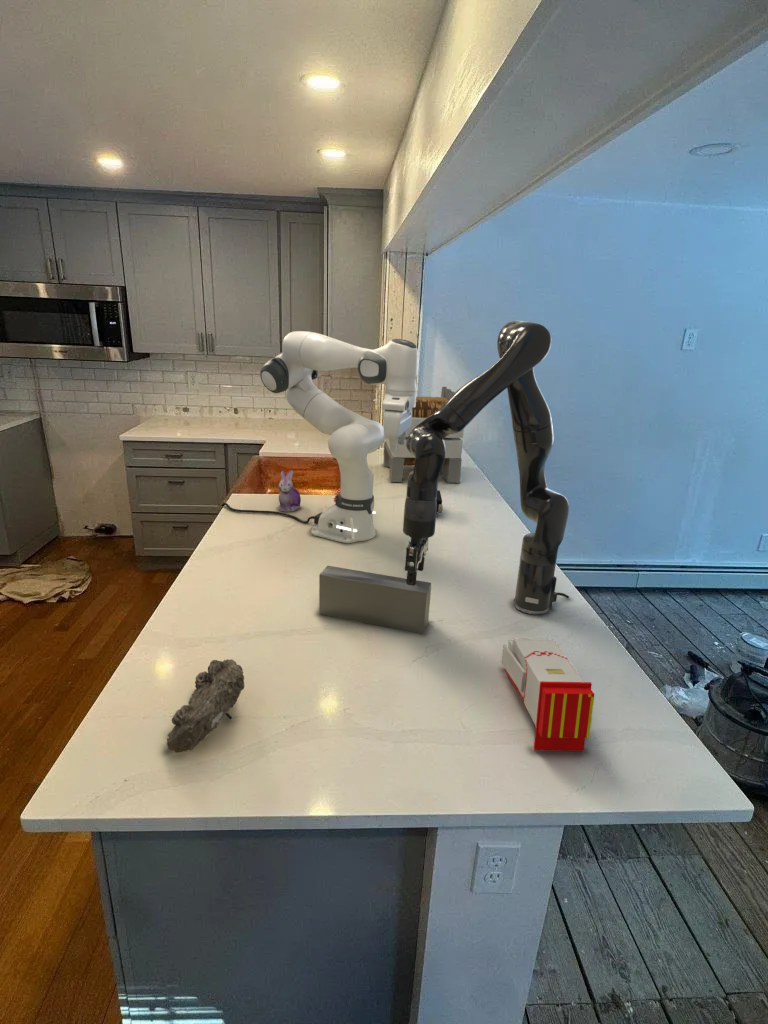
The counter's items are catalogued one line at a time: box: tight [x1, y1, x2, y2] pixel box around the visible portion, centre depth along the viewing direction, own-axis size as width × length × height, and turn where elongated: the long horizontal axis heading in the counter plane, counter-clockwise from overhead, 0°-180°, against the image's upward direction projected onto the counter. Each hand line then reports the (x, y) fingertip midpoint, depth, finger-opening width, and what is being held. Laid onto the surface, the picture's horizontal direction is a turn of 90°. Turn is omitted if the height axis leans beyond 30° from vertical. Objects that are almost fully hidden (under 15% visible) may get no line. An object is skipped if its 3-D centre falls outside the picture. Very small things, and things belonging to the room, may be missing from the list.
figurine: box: [278, 469, 302, 513], centre depth 217 cm, size 9×10×15 cm
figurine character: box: [436, 489, 443, 518], centre depth 221 cm, size 7×8×15 cm
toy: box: [500, 637, 595, 752], centre depth 114 cm, size 12×13×30 cm
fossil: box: [166, 658, 245, 754], centre depth 106 cm, size 22×10×15 cm
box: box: [318, 565, 432, 635], centre depth 143 cm, size 28×6×11 cm, turn 74°
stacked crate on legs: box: [383, 386, 465, 484], centre depth 268 cm, size 34×33×41 cm
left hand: (397, 448), depth 164 cm, fingers open, 8 cm apart
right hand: (415, 577), depth 138 cm, fingers open, 8 cm apart
